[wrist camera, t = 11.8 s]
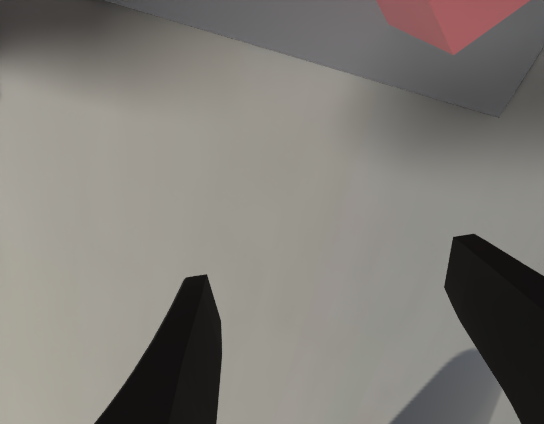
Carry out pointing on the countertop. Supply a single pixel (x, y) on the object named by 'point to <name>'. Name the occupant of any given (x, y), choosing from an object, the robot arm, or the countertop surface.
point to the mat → (374, 44)
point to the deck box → (447, 19)
